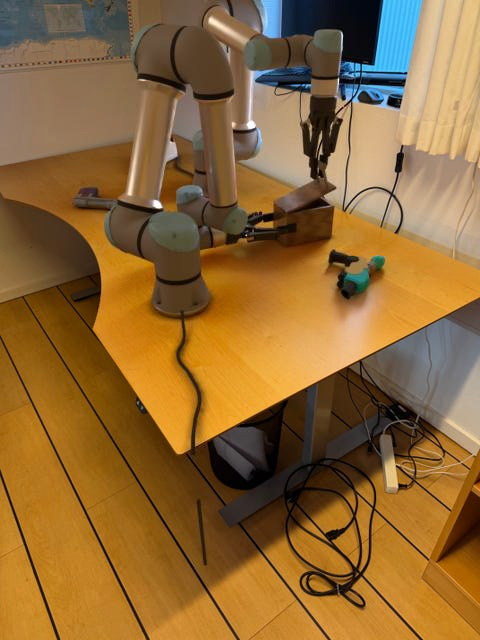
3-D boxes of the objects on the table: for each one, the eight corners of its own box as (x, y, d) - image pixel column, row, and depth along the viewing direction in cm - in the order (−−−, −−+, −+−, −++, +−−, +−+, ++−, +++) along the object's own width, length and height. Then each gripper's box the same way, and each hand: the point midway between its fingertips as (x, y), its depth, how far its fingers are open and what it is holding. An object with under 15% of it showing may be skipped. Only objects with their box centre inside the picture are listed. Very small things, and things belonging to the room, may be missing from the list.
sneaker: (133, 173, 208) (129, 144, 201) (161, 153, 230) (158, 127, 223) (155, 175, 205) (151, 146, 198) (180, 155, 227) (178, 129, 220)
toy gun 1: (130, 197, 185) (114, 212, 174) (86, 194, 188) (67, 209, 177) (128, 187, 183) (112, 202, 171) (84, 184, 186) (65, 199, 174)
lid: (321, 178, 153) (315, 153, 147) (336, 188, 146) (331, 162, 140) (273, 203, 151) (266, 178, 145) (287, 214, 144) (280, 189, 138)
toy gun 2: (307, 279, 125) (363, 294, 119) (338, 241, 143) (388, 251, 138) (306, 294, 127) (360, 308, 122) (336, 254, 146) (385, 265, 140)
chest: (317, 225, 163) (319, 195, 156) (331, 236, 155) (334, 205, 149) (272, 234, 158) (273, 203, 151) (285, 246, 151) (286, 214, 144)
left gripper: (211, 230, 155) (273, 218, 162) (236, 260, 139) (304, 246, 145) (210, 208, 151) (274, 197, 158) (236, 237, 134) (306, 223, 141)
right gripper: (339, 89, 138) (332, 170, 152) (293, 94, 133) (289, 177, 147) (354, 94, 132) (344, 177, 146) (306, 100, 127) (301, 185, 141)
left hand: (288, 221), depth 151 cm, fingers closed on chest, 9 cm apart
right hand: (317, 177), depth 146 cm, fingers closed on lid, 2 cm apart
